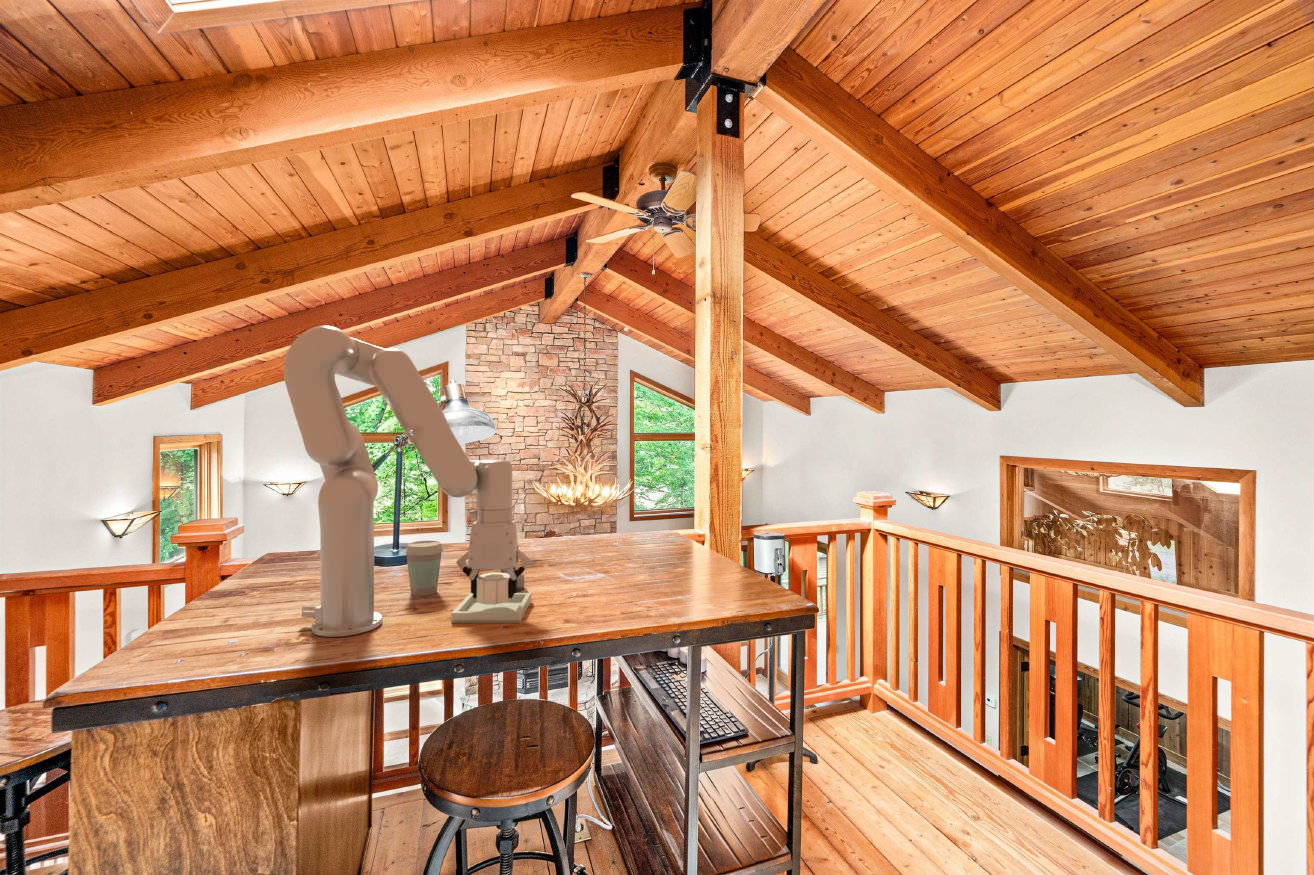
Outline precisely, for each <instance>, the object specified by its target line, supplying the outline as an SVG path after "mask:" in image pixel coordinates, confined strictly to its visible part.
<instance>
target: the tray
mask: <svg viewBox="0 0 1314 875" xmlns="http://www.w3.org/2000/svg"><path fill="white" fill-rule="evenodd" d="M531 603H532V592H518V593H514V596H513V597H512V598H511V599H510V600H509V601H508V602H505V603H501V604H496V605H484V604H481V603H478V602H477V601H476V598H473V593H471V592H470V593H469V594H467V596H466V597H465V598H464V599H463V600H462V601H461V602H460V603H459V604H458V605H457V606H456V607H455V608H454V610H452V612H451V614H450V622H452V623H451V624H520V623H521V622H522V619H523V617H524V615H525V614H526V612H527V610H528V609H529V606H530V605H531ZM527 608H528V609H527Z"/></svg>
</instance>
